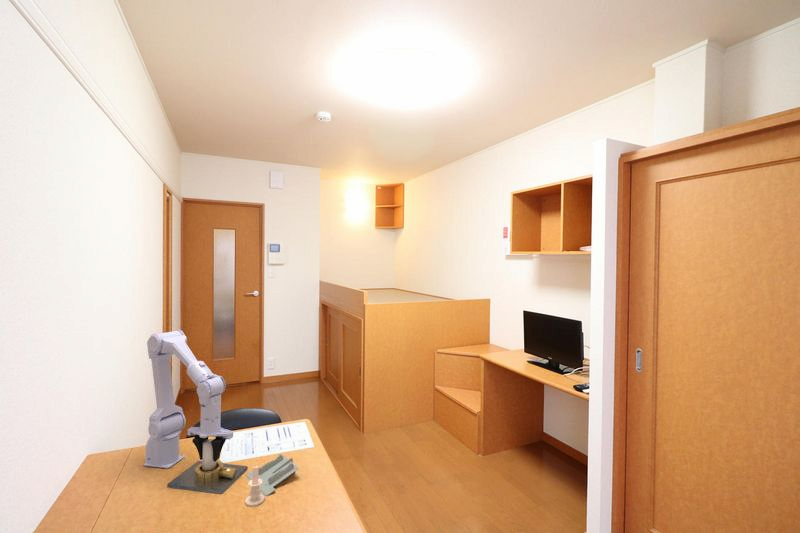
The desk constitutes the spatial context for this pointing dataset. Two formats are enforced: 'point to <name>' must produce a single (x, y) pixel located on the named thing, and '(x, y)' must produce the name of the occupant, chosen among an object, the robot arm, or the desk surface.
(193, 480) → the fitting plate
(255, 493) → the beige turned upright piece
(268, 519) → the desk surface
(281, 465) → the metal bracket
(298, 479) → the desk surface
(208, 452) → the white rounded block
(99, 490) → the desk surface
